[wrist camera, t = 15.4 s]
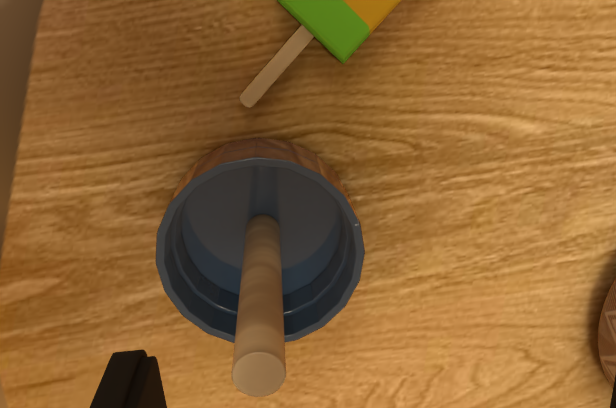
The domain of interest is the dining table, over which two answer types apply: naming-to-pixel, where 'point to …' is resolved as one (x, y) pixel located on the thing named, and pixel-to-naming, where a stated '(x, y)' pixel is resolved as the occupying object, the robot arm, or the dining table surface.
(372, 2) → the popsicle
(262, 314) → the stick
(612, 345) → the planter
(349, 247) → the bowl
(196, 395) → the dining table surface
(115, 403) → the robot arm
